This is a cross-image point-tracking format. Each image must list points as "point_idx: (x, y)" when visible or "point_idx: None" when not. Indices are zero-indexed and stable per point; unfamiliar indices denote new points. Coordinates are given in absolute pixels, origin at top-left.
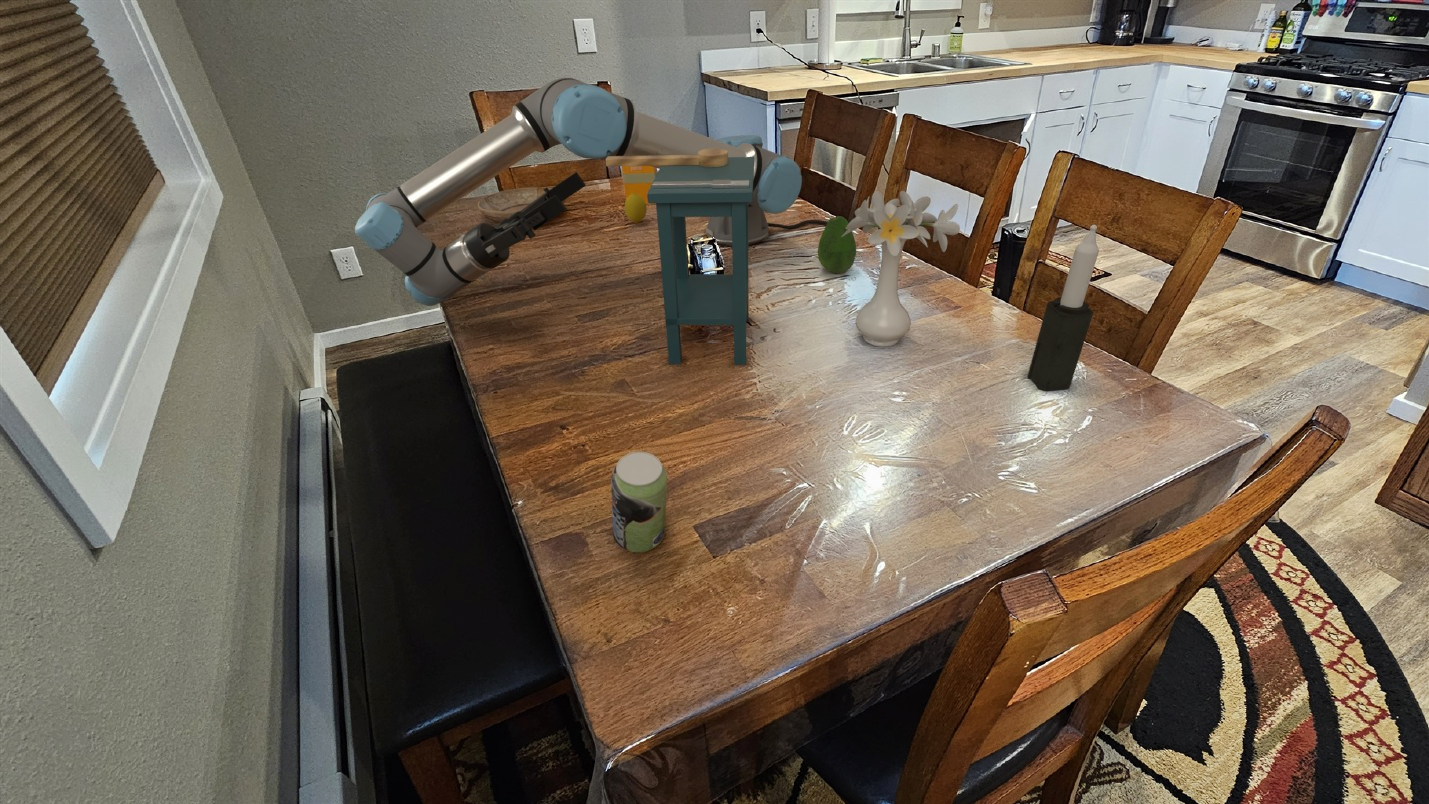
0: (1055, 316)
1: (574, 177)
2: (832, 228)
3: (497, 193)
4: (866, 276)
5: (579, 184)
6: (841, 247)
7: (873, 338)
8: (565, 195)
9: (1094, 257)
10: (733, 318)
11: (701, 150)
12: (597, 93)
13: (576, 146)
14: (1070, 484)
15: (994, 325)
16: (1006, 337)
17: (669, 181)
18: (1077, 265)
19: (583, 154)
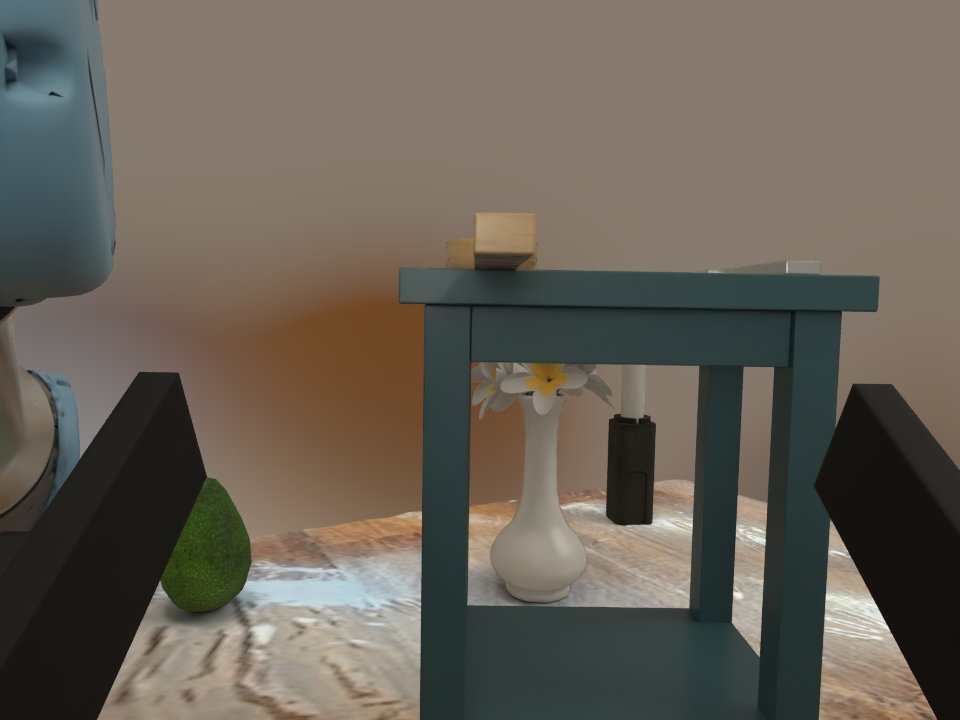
0: (647, 430)
1: (169, 416)
2: (218, 501)
3: None
4: (252, 583)
5: (187, 471)
6: (246, 533)
7: (578, 578)
8: (124, 627)
9: None
10: (731, 622)
11: (470, 238)
12: None
13: (89, 158)
14: (837, 536)
15: (480, 523)
16: None
17: (765, 263)
18: (643, 369)
19: (83, 241)
